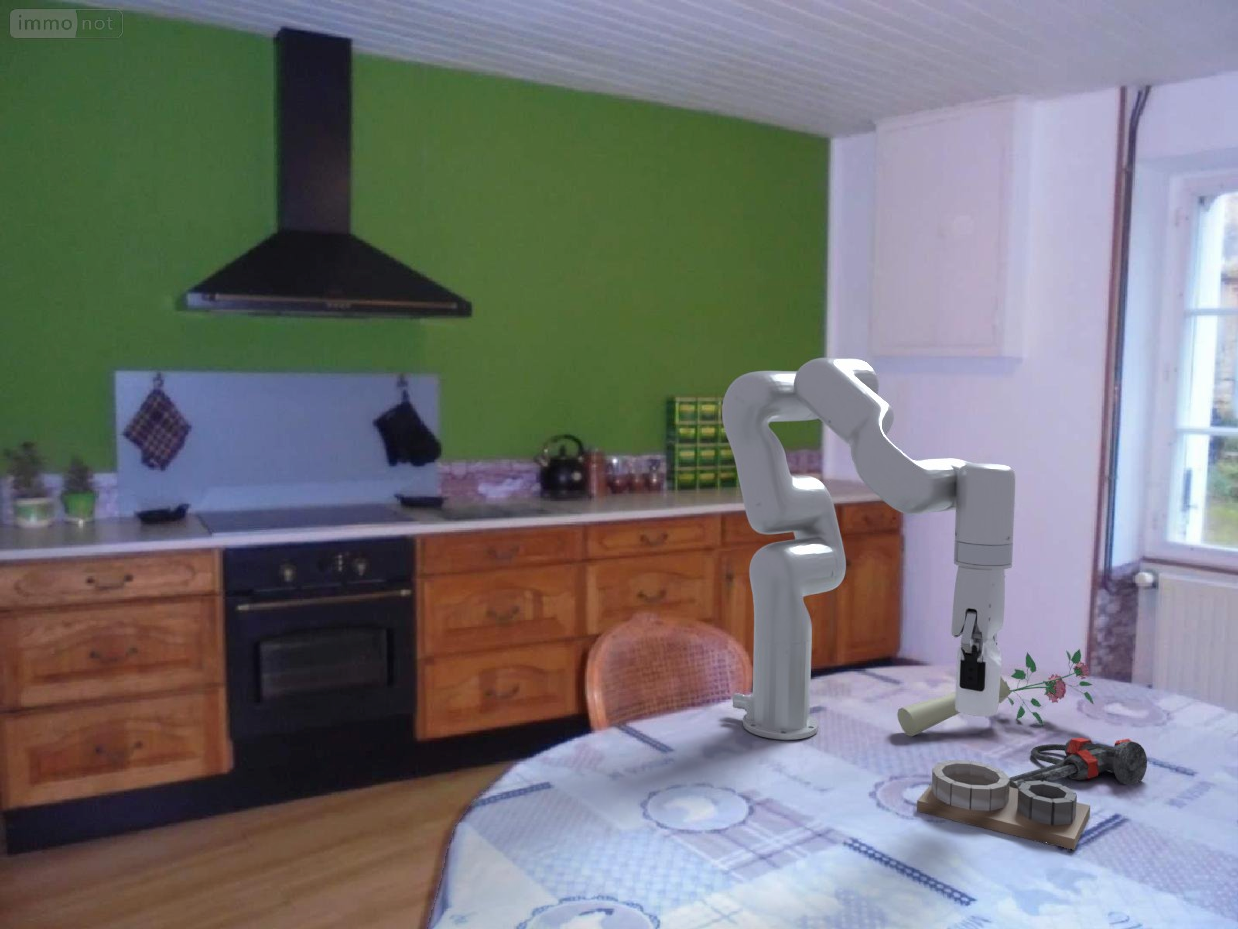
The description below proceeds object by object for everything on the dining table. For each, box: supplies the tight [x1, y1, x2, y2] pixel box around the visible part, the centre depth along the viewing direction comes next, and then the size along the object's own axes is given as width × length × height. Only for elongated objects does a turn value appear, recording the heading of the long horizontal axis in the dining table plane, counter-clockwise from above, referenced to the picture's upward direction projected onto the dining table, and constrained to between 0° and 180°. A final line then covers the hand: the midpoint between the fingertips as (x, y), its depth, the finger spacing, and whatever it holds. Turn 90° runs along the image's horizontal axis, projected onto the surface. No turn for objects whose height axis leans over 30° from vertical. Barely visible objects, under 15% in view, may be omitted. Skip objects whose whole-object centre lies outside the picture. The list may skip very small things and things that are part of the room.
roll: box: [955, 634, 1002, 718], centre depth 140 cm, size 6×12×6 cm
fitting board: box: [916, 759, 1091, 851], centre depth 139 cm, size 20×12×4 cm, turn 57°
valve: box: [1009, 737, 1148, 789], centre depth 154 cm, size 6×26×15 cm
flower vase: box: [896, 648, 1095, 738], centre depth 173 cm, size 12×12×35 cm
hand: (978, 682), depth 141 cm, fingers closed on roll, 5 cm apart
